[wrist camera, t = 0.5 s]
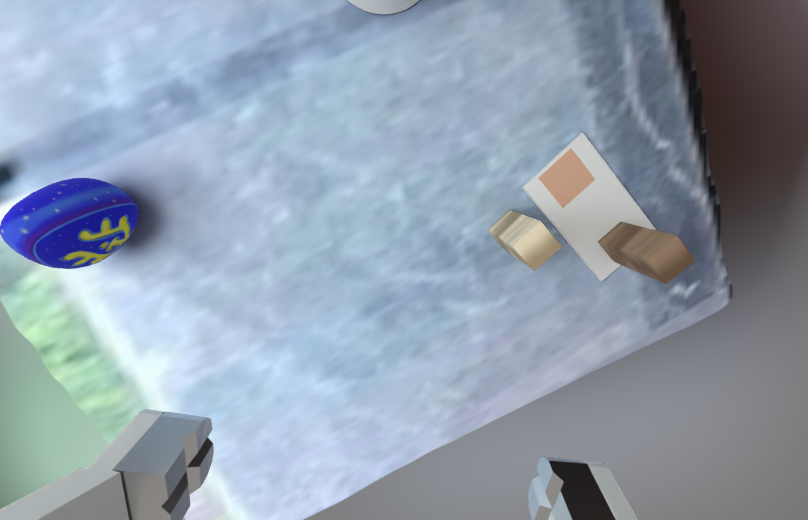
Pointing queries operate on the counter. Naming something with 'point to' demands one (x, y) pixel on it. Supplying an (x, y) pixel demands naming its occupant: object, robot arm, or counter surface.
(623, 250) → the walnut pillar
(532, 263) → the birch pillar
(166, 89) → the counter surface
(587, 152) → the white mat
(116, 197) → the ornament
